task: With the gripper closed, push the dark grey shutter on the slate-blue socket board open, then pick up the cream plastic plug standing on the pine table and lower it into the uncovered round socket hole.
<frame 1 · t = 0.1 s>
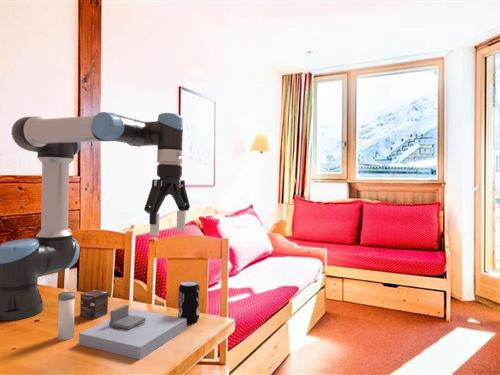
hand: (168, 233, 112), 28 cm above the table, fingers open, 13 cm apart
box: (94, 316, 118), on the table
plug: (65, 337, 101), on the table
beverage can: (188, 321, 115), on the table
socket board: (135, 336, 102), on the table
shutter: (127, 316, 103), point 5 cm above the table, slide at 0.0 cm
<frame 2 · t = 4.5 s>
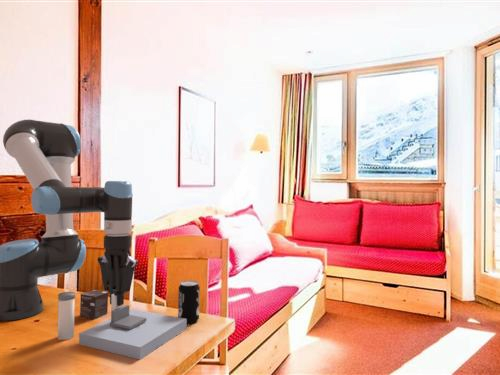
hand: (116, 316, 105), 5 cm above the table, fingers closed
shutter: (128, 316, 103), point 5 cm above the table, slide at 0.3 cm, touching gripper
everything else where it was.
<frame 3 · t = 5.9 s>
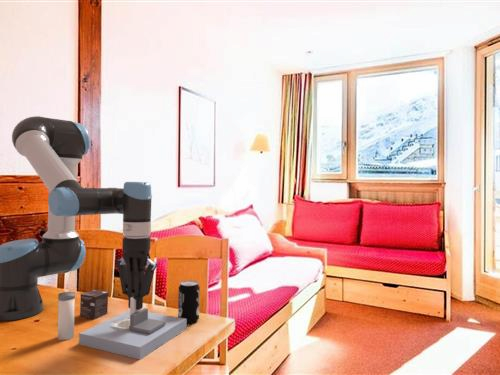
hand: (135, 320, 102), 5 cm above the table, fingers closed
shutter: (147, 320, 101), point 5 cm above the table, slide at 7.0 cm, touching gripper
everything else where it was.
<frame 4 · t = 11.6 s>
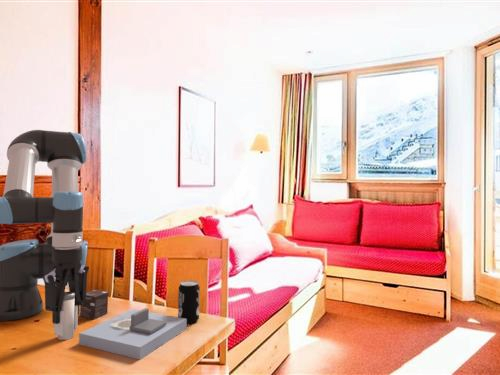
hand: (66, 331, 101), 2 cm above the table, fingers closed on plug, 4 cm apart
plug: (65, 337, 101), on the table, touching gripper
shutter: (148, 320, 101), point 5 cm above the table, slide at 7.2 cm
everything else where it was.
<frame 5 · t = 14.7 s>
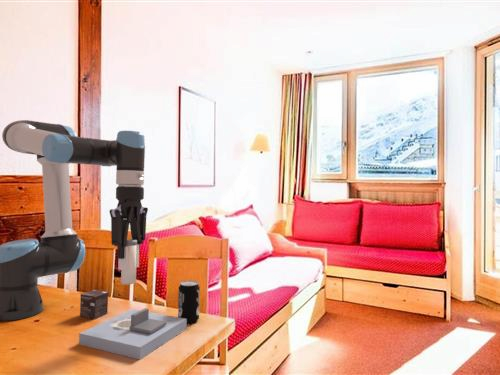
hand: (128, 268, 103), 19 cm above the table, fingers closed on plug, 4 cm apart
plug: (128, 282, 103), point 15 cm above the table, touching gripper
everything else where it was.
when the fingers open (4 cm above the table, at t = 18.2 s): plug stays where it is, resting in socket board.
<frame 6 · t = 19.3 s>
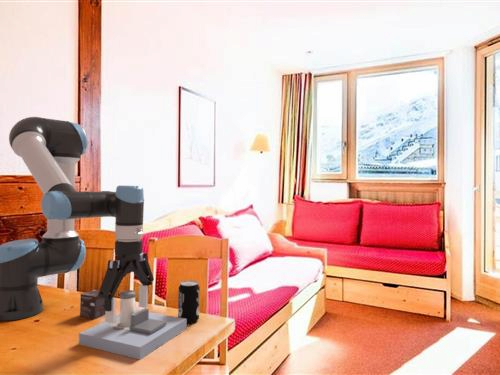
hand: (127, 314, 103), 6 cm above the table, fingers open, 13 cm apart
plug: (127, 334, 103), resting in socket board
everything else where it was.
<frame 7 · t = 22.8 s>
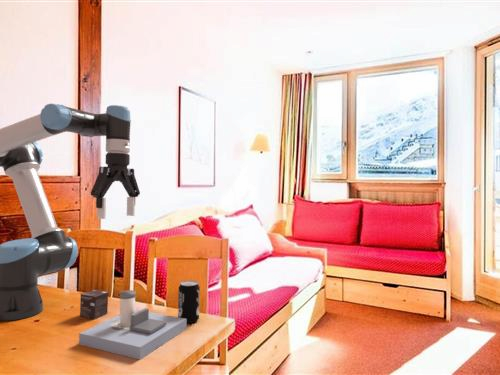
hand: (116, 217, 121), 32 cm above the table, fingers open, 13 cm apart
nothing on the table moved.
at the end: plug 0.0 cm from the target spot, resting in socket board; plug tilted 0°; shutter slide at 7.2 cm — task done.
